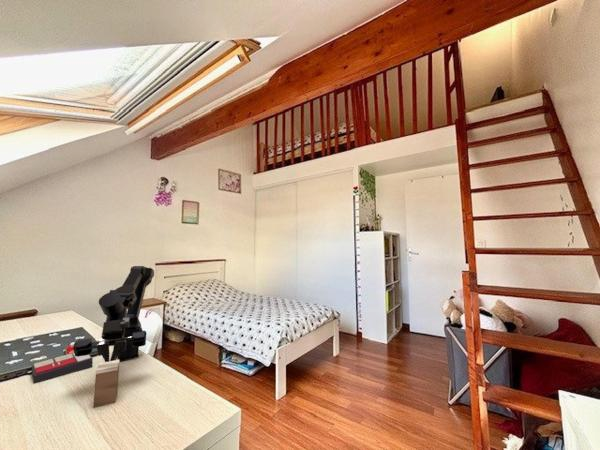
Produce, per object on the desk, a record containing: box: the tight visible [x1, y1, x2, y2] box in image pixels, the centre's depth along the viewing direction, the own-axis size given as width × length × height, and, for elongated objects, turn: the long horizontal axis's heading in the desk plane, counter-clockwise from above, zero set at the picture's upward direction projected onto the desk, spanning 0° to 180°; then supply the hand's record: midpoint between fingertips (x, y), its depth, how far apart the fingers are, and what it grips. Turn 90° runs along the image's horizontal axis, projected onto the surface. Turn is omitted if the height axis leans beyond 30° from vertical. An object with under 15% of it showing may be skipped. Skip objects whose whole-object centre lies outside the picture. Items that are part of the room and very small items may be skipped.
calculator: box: [31, 353, 93, 384], centre depth 91 cm, size 11×4×15 cm
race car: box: [63, 344, 74, 355], centre depth 103 cm, size 13×5×4 cm, turn 47°
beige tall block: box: [92, 359, 120, 409], centre depth 73 cm, size 5×5×10 cm
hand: (108, 369), depth 76 cm, fingers closed
